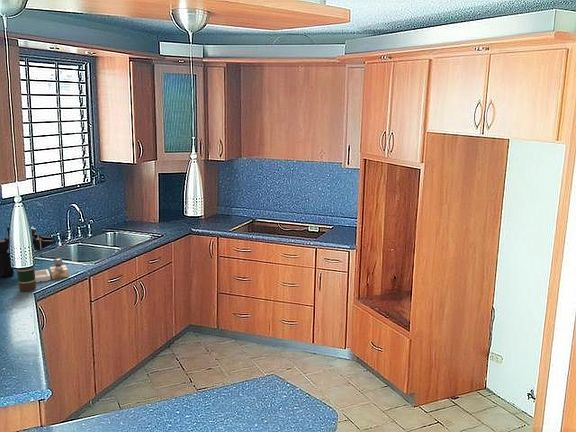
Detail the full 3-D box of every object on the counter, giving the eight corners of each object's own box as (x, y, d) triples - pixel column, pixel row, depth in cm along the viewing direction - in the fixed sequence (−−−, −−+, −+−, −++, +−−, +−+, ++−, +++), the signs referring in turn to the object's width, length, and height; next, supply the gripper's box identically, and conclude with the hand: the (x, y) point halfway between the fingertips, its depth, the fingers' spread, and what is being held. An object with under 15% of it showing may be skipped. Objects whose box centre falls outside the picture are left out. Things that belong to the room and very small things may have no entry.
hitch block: (52, 278, 304) (51, 271, 303) (50, 274, 313) (49, 267, 312) (68, 276, 307) (67, 269, 307) (66, 272, 316) (65, 265, 316)
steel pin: (55, 277, 307) (53, 260, 306) (54, 275, 311) (52, 259, 309) (64, 275, 309) (62, 259, 307) (63, 273, 313) (61, 257, 311)
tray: (27, 283, 297) (27, 279, 296) (26, 276, 309) (25, 272, 309) (50, 280, 302) (50, 275, 301) (48, 273, 314) (47, 269, 314)
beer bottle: (35, 286, 292) (30, 240, 288) (37, 290, 286) (31, 243, 281) (18, 288, 289) (13, 242, 284) (20, 293, 282) (14, 245, 277)
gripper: (21, 232, 303) (53, 228, 310) (20, 226, 320) (50, 223, 327) (24, 252, 306) (55, 248, 312) (22, 245, 322) (52, 242, 329)
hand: (53, 240), depth 320 cm, fingers open, 9 cm apart
